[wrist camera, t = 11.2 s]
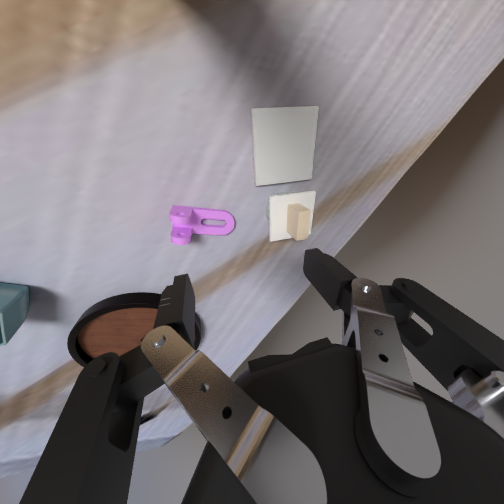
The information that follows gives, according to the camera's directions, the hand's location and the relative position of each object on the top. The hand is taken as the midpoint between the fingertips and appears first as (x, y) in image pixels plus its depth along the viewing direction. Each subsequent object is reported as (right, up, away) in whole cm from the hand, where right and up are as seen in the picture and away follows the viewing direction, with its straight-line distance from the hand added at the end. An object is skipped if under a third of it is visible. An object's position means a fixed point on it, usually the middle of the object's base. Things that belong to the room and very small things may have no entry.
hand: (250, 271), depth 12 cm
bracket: (-11, +9, +28) cm, 31 cm away
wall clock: (-31, -22, +40) cm, 56 cm away
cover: (+9, +9, +27) cm, 30 cm away
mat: (+7, +23, +25) cm, 34 cm away
